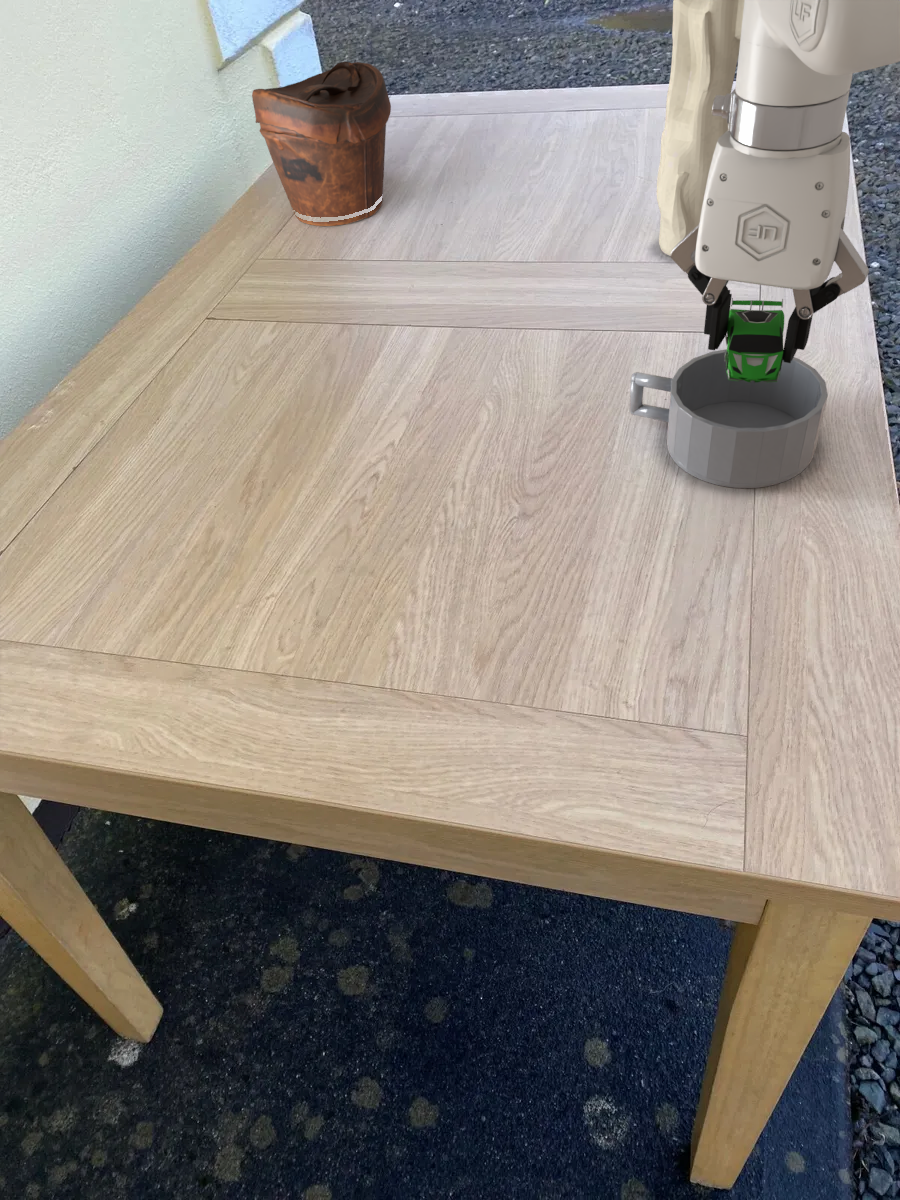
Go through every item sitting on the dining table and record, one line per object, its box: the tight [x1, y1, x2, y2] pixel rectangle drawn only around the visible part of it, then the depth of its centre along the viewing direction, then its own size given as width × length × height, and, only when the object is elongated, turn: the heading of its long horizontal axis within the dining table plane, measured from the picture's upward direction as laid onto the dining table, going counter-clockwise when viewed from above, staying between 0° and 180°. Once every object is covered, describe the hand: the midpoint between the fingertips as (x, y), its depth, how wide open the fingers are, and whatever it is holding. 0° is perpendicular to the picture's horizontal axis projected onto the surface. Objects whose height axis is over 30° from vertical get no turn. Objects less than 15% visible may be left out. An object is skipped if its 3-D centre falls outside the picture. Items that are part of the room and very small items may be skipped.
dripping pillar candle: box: [656, 0, 744, 257], centre depth 101 cm, size 9×8×30 cm
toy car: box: [724, 297, 785, 383], centre depth 76 cm, size 10×5×2 cm, turn 166°
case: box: [251, 61, 392, 227], centre depth 125 cm, size 18×20×18 cm
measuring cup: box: [629, 348, 828, 489], centre depth 82 cm, size 17×13×6 cm
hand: (753, 346), depth 76 cm, fingers closed on toy car, 5 cm apart
